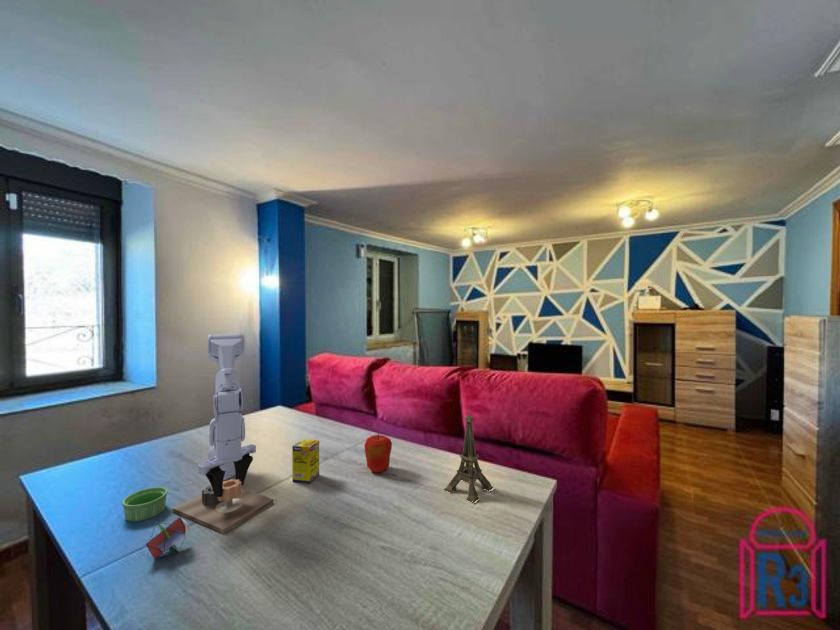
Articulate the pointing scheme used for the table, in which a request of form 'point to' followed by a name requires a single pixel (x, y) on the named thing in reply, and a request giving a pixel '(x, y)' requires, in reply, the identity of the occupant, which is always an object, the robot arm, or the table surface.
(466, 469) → the eiffel tower
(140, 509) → the ramekin
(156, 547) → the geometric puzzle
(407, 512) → the table surface
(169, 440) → the table surface
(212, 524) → the gear board
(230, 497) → the gear
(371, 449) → the apple
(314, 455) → the supplement box
